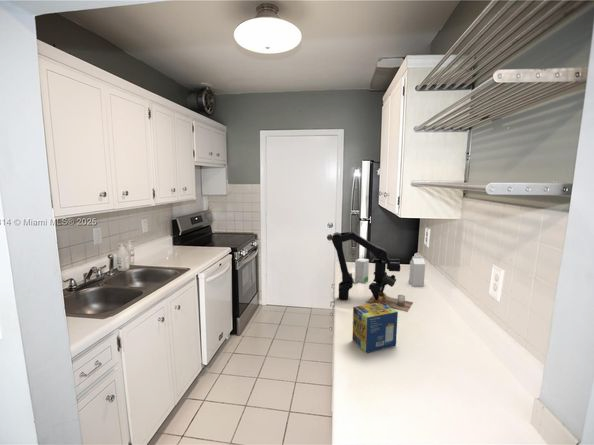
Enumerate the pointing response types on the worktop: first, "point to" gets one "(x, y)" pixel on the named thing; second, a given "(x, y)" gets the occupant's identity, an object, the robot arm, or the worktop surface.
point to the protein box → (374, 326)
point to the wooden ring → (380, 297)
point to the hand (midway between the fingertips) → (378, 297)
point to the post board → (396, 303)
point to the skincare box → (361, 270)
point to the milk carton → (417, 271)
